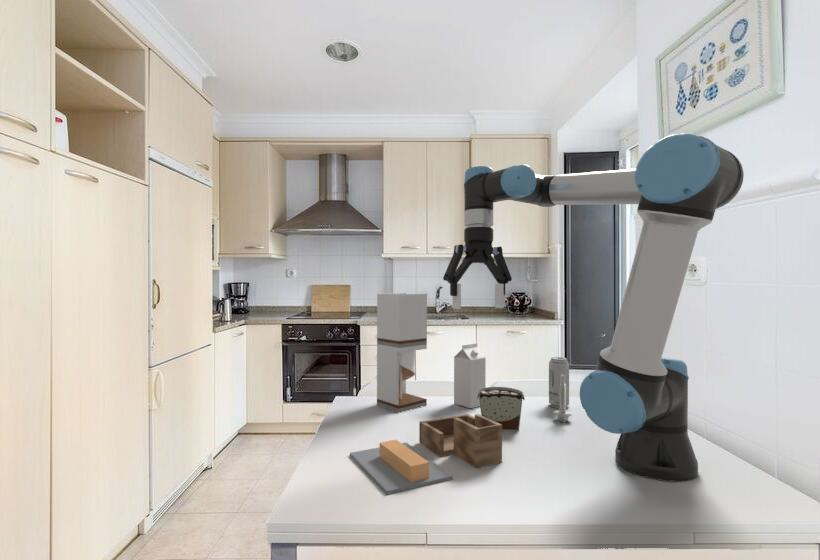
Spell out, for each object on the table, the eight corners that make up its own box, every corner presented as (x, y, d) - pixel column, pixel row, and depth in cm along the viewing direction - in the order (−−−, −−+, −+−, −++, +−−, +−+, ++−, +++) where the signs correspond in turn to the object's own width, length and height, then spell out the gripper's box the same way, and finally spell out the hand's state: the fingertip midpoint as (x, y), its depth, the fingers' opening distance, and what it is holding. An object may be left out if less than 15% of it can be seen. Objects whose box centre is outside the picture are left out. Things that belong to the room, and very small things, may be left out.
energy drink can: (545, 404, 139) (545, 356, 139) (562, 403, 140) (562, 356, 140) (554, 409, 133) (554, 360, 133) (572, 408, 134) (572, 359, 134)
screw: (568, 417, 124) (574, 423, 119) (551, 417, 124) (556, 423, 119) (568, 372, 124) (574, 375, 119) (551, 372, 124) (556, 375, 120)
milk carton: (453, 404, 138) (453, 344, 138) (468, 400, 143) (468, 342, 143) (470, 409, 133) (471, 346, 133) (485, 404, 137) (485, 344, 138)
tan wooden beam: (429, 477, 84) (429, 462, 84) (411, 482, 82) (411, 466, 82) (395, 453, 96) (395, 439, 96) (379, 456, 94) (379, 442, 94)
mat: (452, 478, 85) (452, 475, 85) (386, 494, 79) (386, 491, 79) (406, 445, 103) (406, 442, 103) (349, 455, 96) (350, 452, 96)
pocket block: (515, 459, 95) (515, 422, 95) (461, 471, 88) (461, 432, 88) (467, 433, 111) (467, 402, 111) (419, 442, 104) (419, 409, 104)
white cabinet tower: (399, 412, 129) (399, 294, 129) (376, 405, 136) (377, 293, 137) (426, 405, 136) (426, 293, 137) (404, 398, 144) (404, 293, 144)
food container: (521, 423, 119) (521, 386, 119) (524, 431, 113) (524, 392, 113) (475, 421, 120) (475, 385, 120) (476, 429, 114) (477, 391, 114)
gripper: (506, 231, 123) (506, 306, 123) (430, 226, 112) (429, 308, 111) (525, 228, 116) (525, 308, 116) (445, 222, 105) (445, 310, 105)
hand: (478, 308), depth 114 cm, fingers open, 13 cm apart
